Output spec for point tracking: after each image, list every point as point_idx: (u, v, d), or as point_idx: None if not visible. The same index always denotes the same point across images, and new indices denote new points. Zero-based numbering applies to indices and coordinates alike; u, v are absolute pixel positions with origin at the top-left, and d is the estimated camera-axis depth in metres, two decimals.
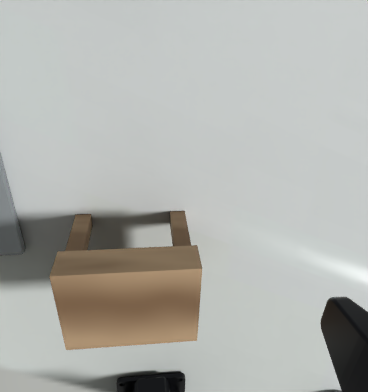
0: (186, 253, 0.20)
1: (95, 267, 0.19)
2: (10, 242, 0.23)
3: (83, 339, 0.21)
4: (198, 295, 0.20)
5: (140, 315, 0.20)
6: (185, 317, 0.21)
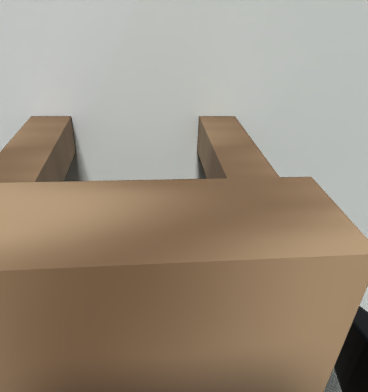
0: None
1: None
2: None
3: None
4: (38, 276, 0.04)
5: None
6: (196, 308, 0.04)
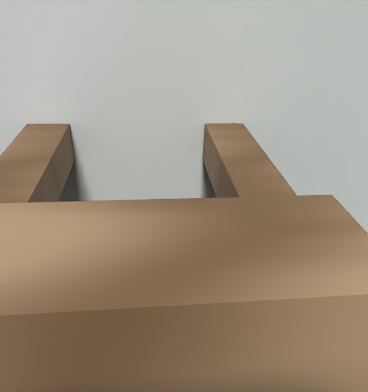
0: None
1: None
2: None
3: None
4: (29, 321, 0.03)
5: None
6: (209, 353, 0.04)
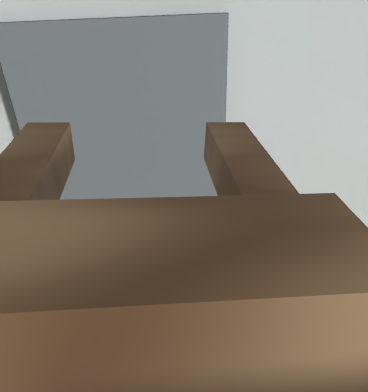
0: None
1: None
2: (214, 195, 0.21)
3: None
4: (30, 319, 0.03)
5: None
6: (211, 352, 0.04)
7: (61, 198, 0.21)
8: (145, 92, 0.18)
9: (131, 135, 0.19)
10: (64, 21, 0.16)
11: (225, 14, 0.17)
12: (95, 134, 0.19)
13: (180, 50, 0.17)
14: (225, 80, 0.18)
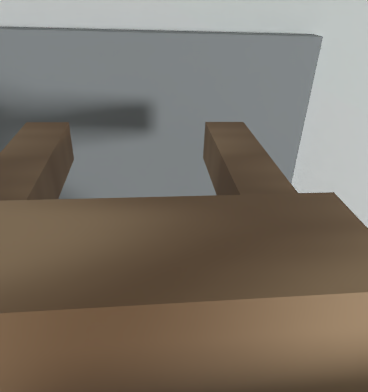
0: None
1: None
2: None
3: None
4: (27, 319, 0.03)
5: None
6: (210, 351, 0.04)
7: None
8: (177, 147, 0.12)
9: None
10: (54, 32, 0.09)
11: (317, 38, 0.10)
12: None
13: (239, 89, 0.11)
14: (299, 136, 0.12)
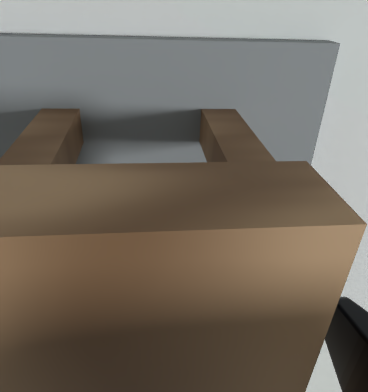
0: None
1: None
2: None
3: None
4: (61, 241, 0.04)
5: (168, 388, 0.06)
6: (200, 275, 0.05)
7: None
8: (180, 162, 0.11)
9: None
10: (47, 39, 0.09)
11: (334, 45, 0.09)
12: None
13: (248, 99, 0.10)
14: (312, 149, 0.11)
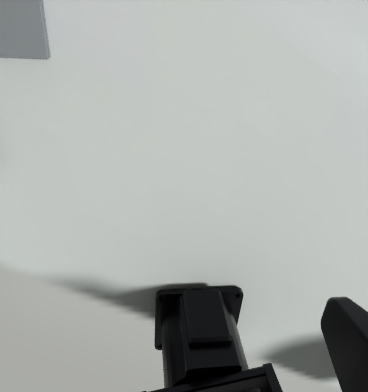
0: None
1: None
2: (30, 34, 0.15)
3: None
4: None
5: None
6: None
7: None
8: None
9: None
10: None
11: None
12: None
13: None
14: None
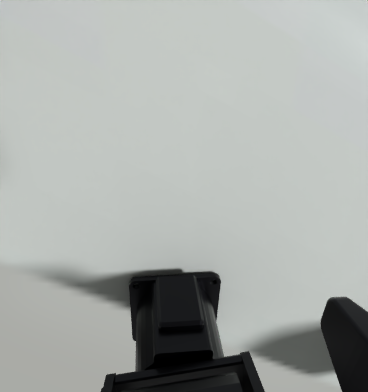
0: None
1: None
2: None
3: None
4: None
5: None
6: None
7: None
8: None
9: None
10: None
11: None
12: None
13: None
14: None
